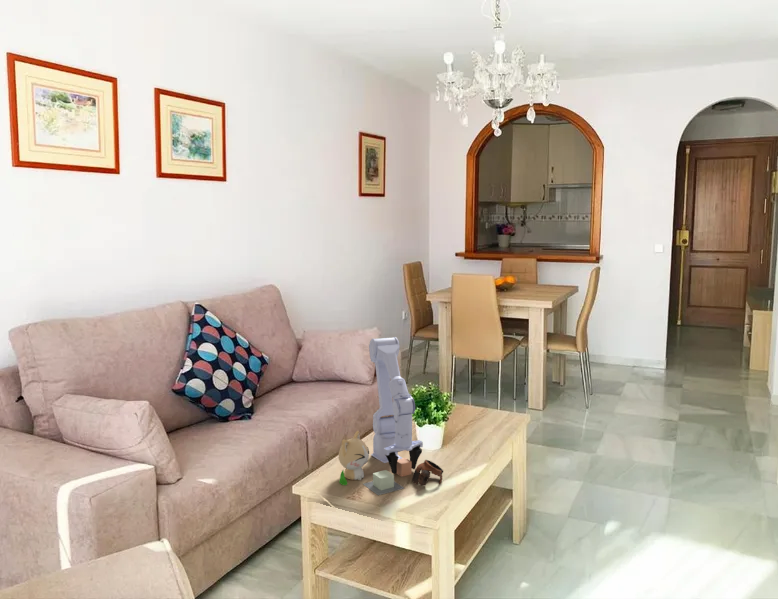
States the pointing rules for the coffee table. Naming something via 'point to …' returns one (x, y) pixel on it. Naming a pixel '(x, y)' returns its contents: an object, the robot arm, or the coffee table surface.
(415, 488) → the coffee table surface
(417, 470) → the brown ring with handle
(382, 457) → the robot arm
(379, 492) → the plate
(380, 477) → the brick
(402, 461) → the brick
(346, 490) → the coffee table surface
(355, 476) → the kitten
